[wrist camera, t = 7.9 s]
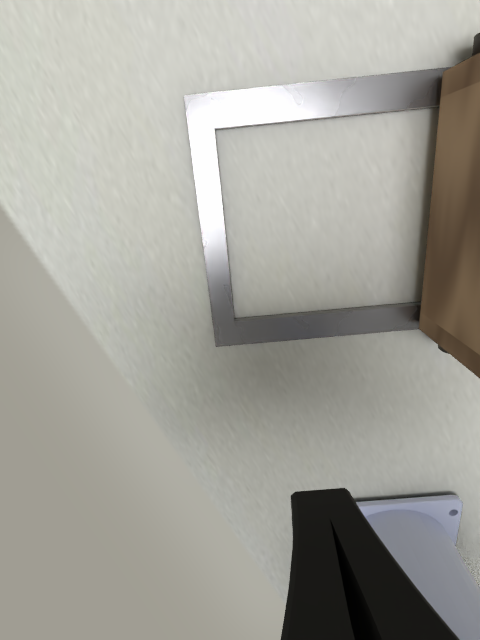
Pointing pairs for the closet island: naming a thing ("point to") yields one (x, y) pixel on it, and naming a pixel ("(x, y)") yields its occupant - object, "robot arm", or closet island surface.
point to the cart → (455, 220)
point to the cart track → (281, 108)
